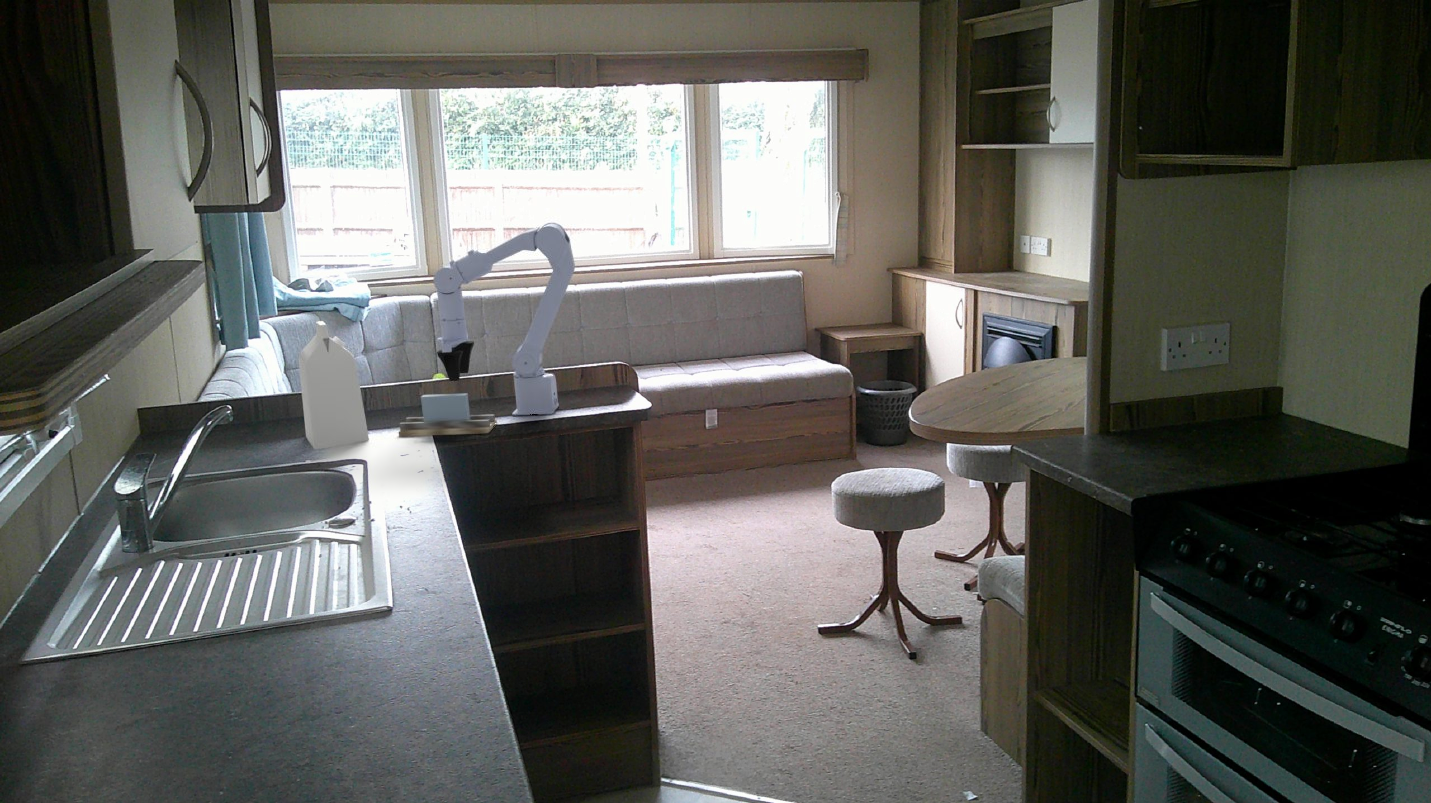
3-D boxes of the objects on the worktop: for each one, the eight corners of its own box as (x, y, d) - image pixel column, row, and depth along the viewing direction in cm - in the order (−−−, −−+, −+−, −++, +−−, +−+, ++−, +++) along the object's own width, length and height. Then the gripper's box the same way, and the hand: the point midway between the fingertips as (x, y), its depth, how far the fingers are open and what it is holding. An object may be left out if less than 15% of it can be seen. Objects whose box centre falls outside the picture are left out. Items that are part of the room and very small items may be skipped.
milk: (306, 437, 256) (289, 322, 249) (358, 428, 261) (343, 316, 254) (314, 449, 245) (297, 330, 239) (369, 440, 250) (353, 323, 244)
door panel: (470, 423, 255) (467, 393, 254) (468, 425, 253) (465, 395, 252) (427, 425, 256) (423, 394, 254) (424, 427, 254) (420, 397, 252)
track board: (497, 423, 258) (495, 412, 258) (487, 433, 250) (486, 422, 250) (410, 426, 260) (409, 415, 259) (398, 436, 252) (397, 425, 251)
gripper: (444, 314, 268) (451, 370, 272) (425, 325, 254) (432, 384, 258) (474, 312, 268) (480, 369, 271) (456, 324, 254) (463, 383, 257)
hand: (459, 376), depth 264 cm, fingers open, 7 cm apart
